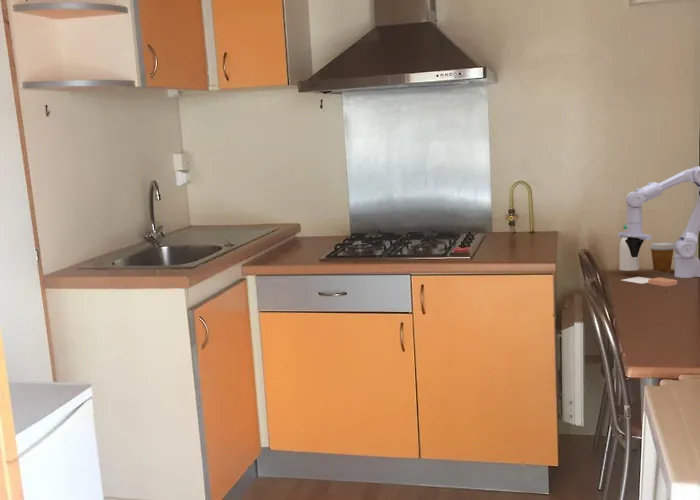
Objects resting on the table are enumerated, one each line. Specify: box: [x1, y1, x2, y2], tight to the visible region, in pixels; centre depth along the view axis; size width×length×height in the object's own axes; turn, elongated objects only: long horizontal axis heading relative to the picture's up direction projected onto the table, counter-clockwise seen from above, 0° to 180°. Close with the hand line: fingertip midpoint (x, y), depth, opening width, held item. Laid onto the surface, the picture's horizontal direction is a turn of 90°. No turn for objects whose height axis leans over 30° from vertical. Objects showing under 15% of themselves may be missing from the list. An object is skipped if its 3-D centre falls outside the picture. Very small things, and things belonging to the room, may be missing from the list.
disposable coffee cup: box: [649, 241, 675, 274], centre depth 309 cm, size 10×10×12 cm
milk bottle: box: [618, 224, 640, 272], centre depth 312 cm, size 8×8×20 cm
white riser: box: [621, 276, 651, 284], centre depth 289 cm, size 10×10×2 cm
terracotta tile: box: [647, 276, 678, 287], centre depth 280 cm, size 6×8×2 cm
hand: (634, 256), depth 295 cm, fingers closed
